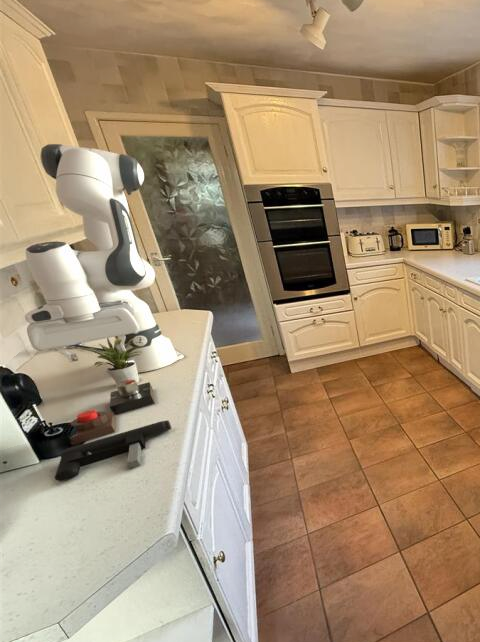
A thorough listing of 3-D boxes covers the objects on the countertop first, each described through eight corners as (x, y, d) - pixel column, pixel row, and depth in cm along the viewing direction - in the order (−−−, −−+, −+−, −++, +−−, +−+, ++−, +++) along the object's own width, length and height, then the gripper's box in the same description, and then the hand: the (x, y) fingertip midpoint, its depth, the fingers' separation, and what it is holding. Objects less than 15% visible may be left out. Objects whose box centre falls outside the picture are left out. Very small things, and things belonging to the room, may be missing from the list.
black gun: (168, 446, 93) (167, 415, 104) (45, 486, 81) (59, 446, 93) (173, 457, 94) (172, 425, 105) (54, 497, 83) (66, 457, 94)
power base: (76, 429, 106) (68, 416, 104) (116, 417, 110) (109, 405, 109) (72, 445, 99) (64, 432, 97) (115, 432, 104) (108, 419, 102)
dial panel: (115, 400, 120) (110, 391, 119) (153, 390, 125) (149, 381, 124) (114, 415, 112) (109, 406, 110) (154, 404, 117) (150, 394, 116)
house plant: (119, 397, 122) (95, 348, 115) (85, 394, 125) (59, 346, 118) (164, 376, 135) (145, 331, 128) (133, 374, 137) (112, 330, 131)
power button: (80, 419, 103) (77, 413, 103) (99, 414, 106) (96, 408, 105) (78, 424, 101) (75, 419, 100) (98, 419, 103) (95, 413, 102)
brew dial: (119, 398, 114) (113, 387, 113) (122, 392, 118) (116, 381, 116) (139, 394, 117) (133, 382, 115) (141, 388, 120) (136, 377, 119)
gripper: (128, 297, 111) (148, 342, 116) (19, 313, 98) (46, 363, 104) (128, 300, 106) (148, 348, 112) (14, 318, 94) (43, 370, 99)
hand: (99, 355), depth 108 cm, fingers open, 8 cm apart
